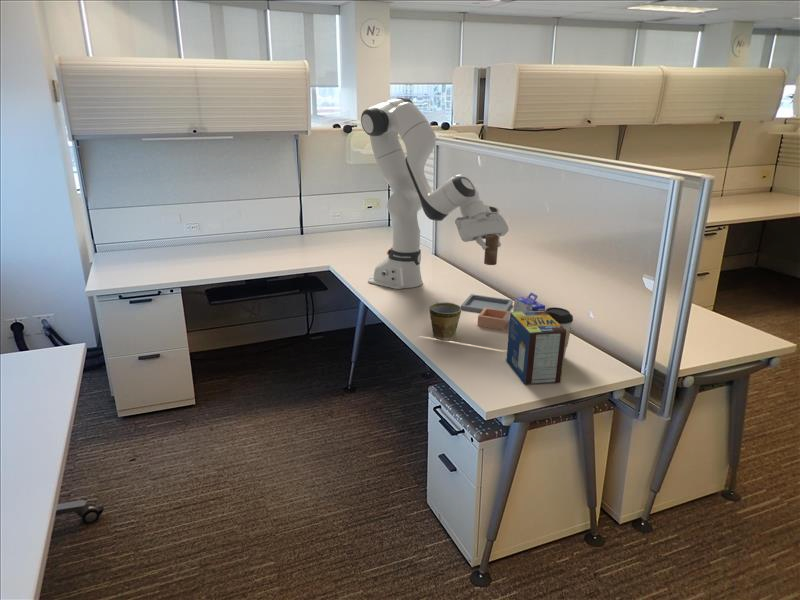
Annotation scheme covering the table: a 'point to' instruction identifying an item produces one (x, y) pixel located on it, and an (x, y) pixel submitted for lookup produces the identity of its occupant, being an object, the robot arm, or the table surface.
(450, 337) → the ceramic cup
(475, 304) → the tray
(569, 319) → the coffee cup
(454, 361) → the table surface
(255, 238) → the table surface
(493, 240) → the canister
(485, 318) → the holder cup
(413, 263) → the robot arm
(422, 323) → the table surface
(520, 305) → the ink cartridge box
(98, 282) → the table surface
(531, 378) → the protein box
